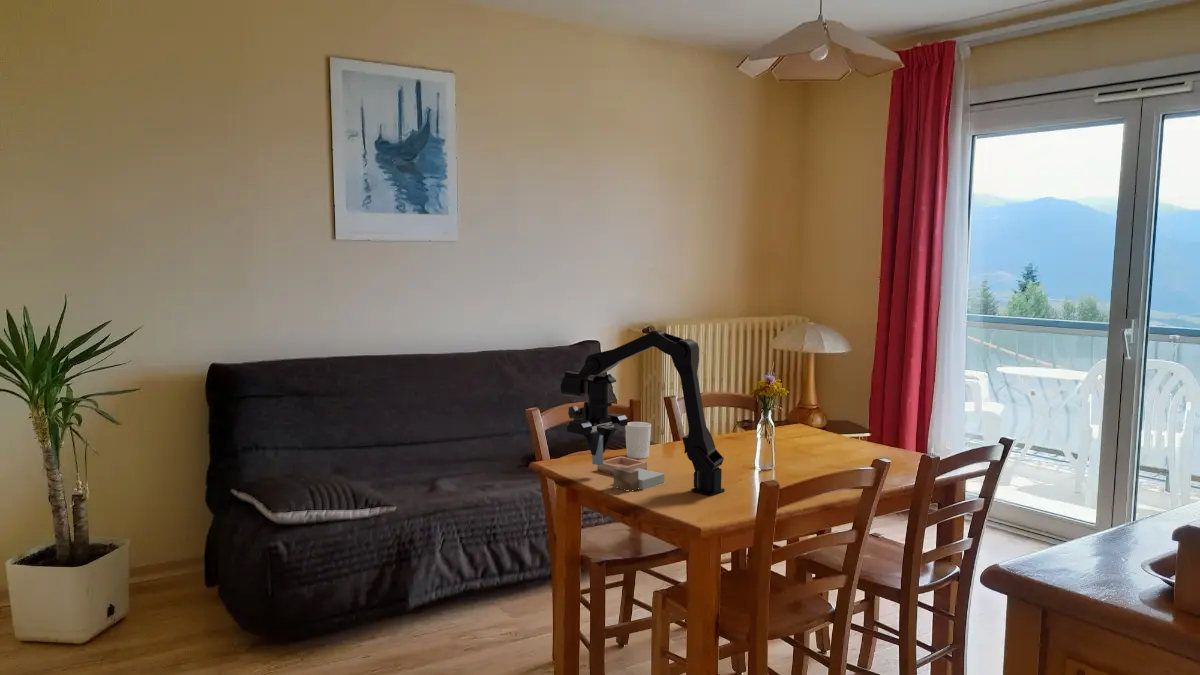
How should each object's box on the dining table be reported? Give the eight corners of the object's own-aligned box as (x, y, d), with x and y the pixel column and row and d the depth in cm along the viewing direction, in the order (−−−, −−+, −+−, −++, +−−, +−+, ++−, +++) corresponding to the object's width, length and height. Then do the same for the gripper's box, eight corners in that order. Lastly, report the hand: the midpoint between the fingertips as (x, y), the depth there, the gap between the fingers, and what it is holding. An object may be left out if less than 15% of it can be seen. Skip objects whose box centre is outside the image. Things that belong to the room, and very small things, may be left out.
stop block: (638, 489, 214) (638, 470, 213) (630, 491, 212) (630, 472, 211) (621, 484, 218) (621, 466, 217) (613, 487, 216) (613, 468, 215)
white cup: (655, 455, 251) (655, 423, 251) (643, 460, 245) (643, 427, 244) (632, 452, 255) (632, 420, 255) (620, 457, 249) (620, 424, 248)
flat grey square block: (664, 484, 220) (664, 473, 220) (642, 491, 213) (642, 480, 213) (638, 478, 226) (638, 468, 226) (617, 485, 219) (617, 474, 219)
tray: (646, 470, 233) (647, 462, 233) (623, 476, 226) (623, 468, 226) (620, 464, 240) (621, 456, 240) (597, 470, 233) (597, 462, 233)
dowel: (605, 463, 226) (605, 434, 225) (597, 465, 223) (598, 436, 223) (597, 461, 228) (597, 433, 227) (589, 463, 225) (590, 434, 225)
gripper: (600, 391, 236) (599, 444, 238) (553, 398, 223) (553, 455, 224) (629, 395, 228) (628, 450, 230) (582, 403, 215) (581, 462, 216)
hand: (597, 454), depth 225 cm, fingers closed on dowel, 3 cm apart
